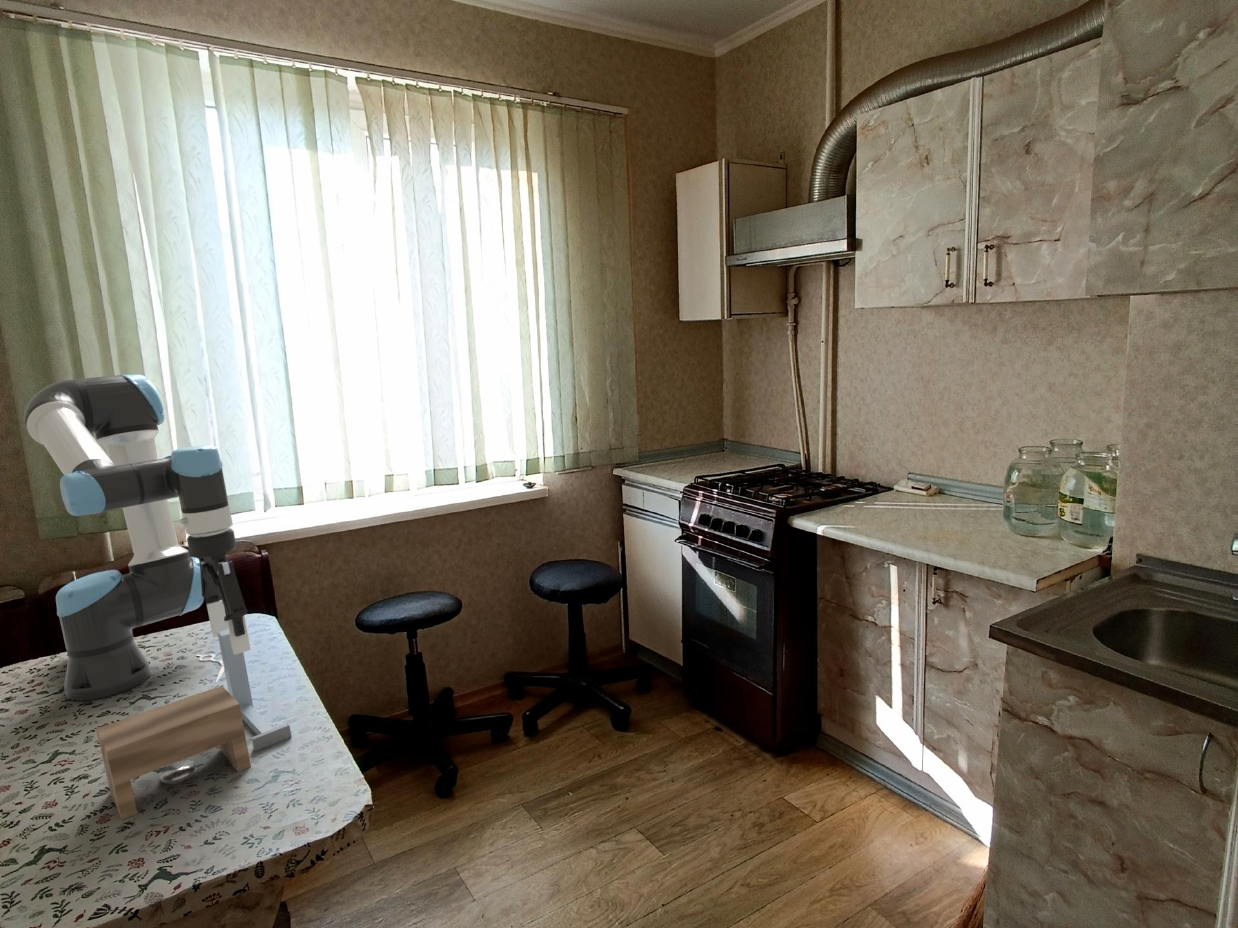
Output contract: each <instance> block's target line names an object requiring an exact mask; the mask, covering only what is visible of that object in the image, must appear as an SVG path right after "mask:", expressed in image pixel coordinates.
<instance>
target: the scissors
mask: <svg viewBox="0 0 1238 928" xmlns="http://www.w3.org/2000/svg"><path fill="white" fill-rule="evenodd" d="M195 656H199V657H198V659H199V662H202V661H205V662H212V661H213V662H212V663H219V664H220V665H221V667H220V670H219V672H218V675H217V678H216V681H215V683H217V682H218V681H219V680H220V679H221V677H222V675H223V674H224V673H225V671H224V665H223V659H220V660H219V659H215V658H216V657H217V655H216V654H211V653H210V654H205V655H201V654H196V655H195ZM205 656H208V657H210V658H206V657H205ZM215 656H216V657H215ZM204 658H205V659H204ZM213 658H214V659H213Z"/></svg>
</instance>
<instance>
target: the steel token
mask: <svg viewBox="0 0 1238 928" xmlns="http://www.w3.org/2000/svg"><path fill="white" fill-rule="evenodd" d="M195 773H197V764H196V762H195V760H192V759H187V760H186V759H183V760H180V761H178V762H175V763H173V764H170V765H168V766H165V767H163V768H162V770H161V771H160V773H159V776H160V781H161V783H162V784H164V785H174V784H178V783H181V782H183V781H186V780H188V779H190V778H192V777H193V776H194V775H195Z"/></svg>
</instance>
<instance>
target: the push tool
mask: <svg viewBox="0 0 1238 928" xmlns="http://www.w3.org/2000/svg"><path fill="white" fill-rule="evenodd" d="M217 633H218V636H217V637H218V642H219V648H220V652H221V658H222V659H221V660H223V665H224V670H225V671H224V675H225V679H226V685H227V691H228V692H229V694H230V695H231V696H232V697H233V698H234V699H235V700H236V701H237V702H238V703H239V705H240V710H241V716H242V721H244V722H245V724H246V725H247V726H248V727H249V728H250V729H251V730H252V732H253V733H255V735H254V736H252V737H251V738H250V739H251V742H252V748H253V751H255V752H257V751H260V750H262V749H265V748H267V747H271V746H272V745H275V744H277V743H280V742H282V741H284V740H285V741H286V740H288V739H289V737H290V738H292V737H291V736H292V731H291V725H290V724H289V723H285V724H282V725H280V726H277V727H275V728H274V727H273V726H272V725H271V724H270V723H269V722H268V721H267V720H266V718H264V717H263V716H262V715H261V714H260V713H259V712H258V711H257V709H255V707H254V703H253V699H252V698H253V697H252V693H251V687H250V681H249V680H250V679H249V676H248V671H247V664H246V659H245V653H244V652H242V653H239V654H236V655H234V654H233V650H232V645H231V640H230V634H229V629H227V630H223V631H220V632H217Z"/></svg>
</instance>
